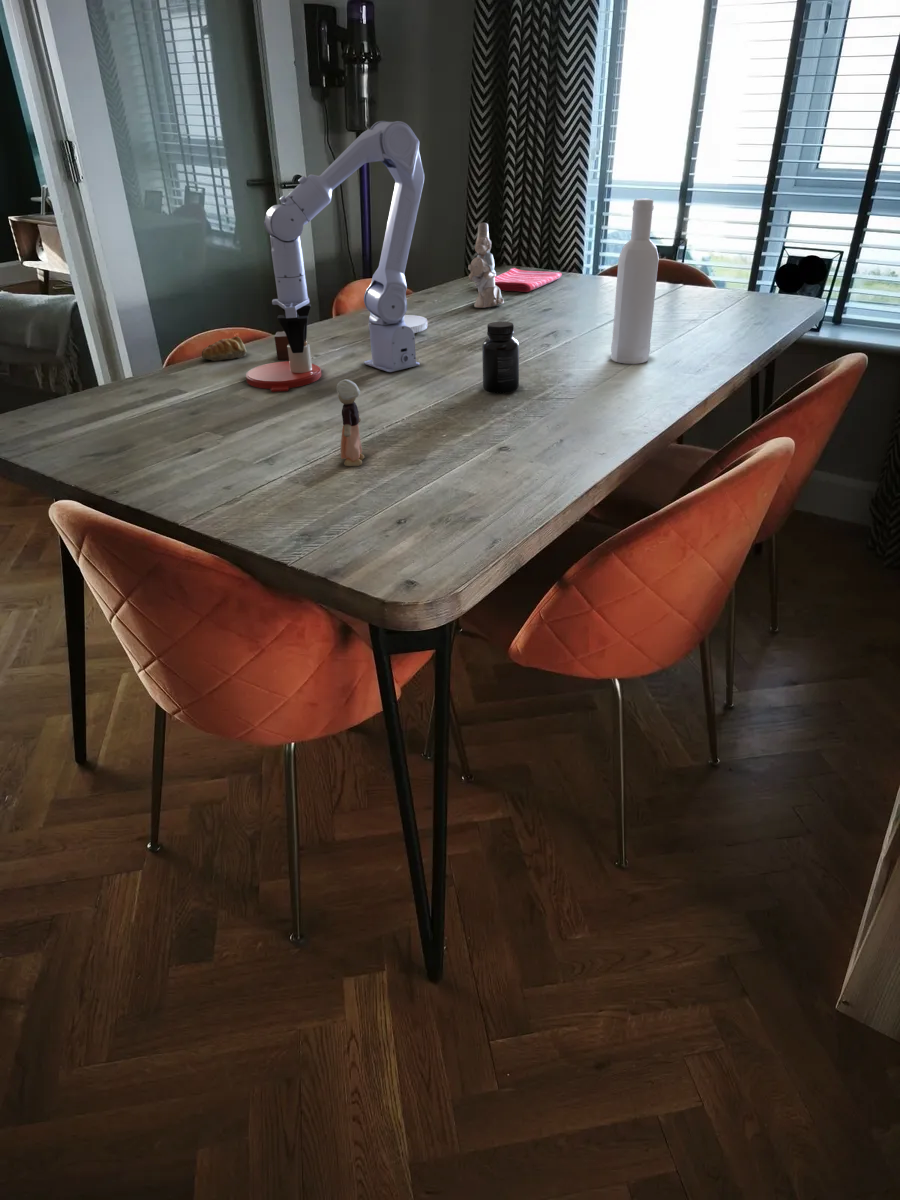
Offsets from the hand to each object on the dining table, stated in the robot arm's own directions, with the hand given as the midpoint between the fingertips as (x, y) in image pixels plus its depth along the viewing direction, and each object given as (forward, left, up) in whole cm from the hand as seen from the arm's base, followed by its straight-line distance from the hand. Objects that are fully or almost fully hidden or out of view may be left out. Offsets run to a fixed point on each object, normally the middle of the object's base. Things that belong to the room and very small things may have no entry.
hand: (299, 347), depth 160 cm
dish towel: (+36, -96, -6) cm, 103 cm away
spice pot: (0, 0, -5) cm, 5 cm away
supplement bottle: (-34, -23, -6) cm, 42 cm away
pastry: (+26, +4, -6) cm, 27 cm away
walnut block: (+15, -6, -6) cm, 17 cm away
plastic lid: (+16, -36, -6) cm, 40 cm away
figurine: (+22, -70, -6) cm, 73 cm away
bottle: (-38, -56, -6) cm, 68 cm away
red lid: (+2, +3, -6) cm, 7 cm away
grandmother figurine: (-45, +18, -6) cm, 49 cm away
